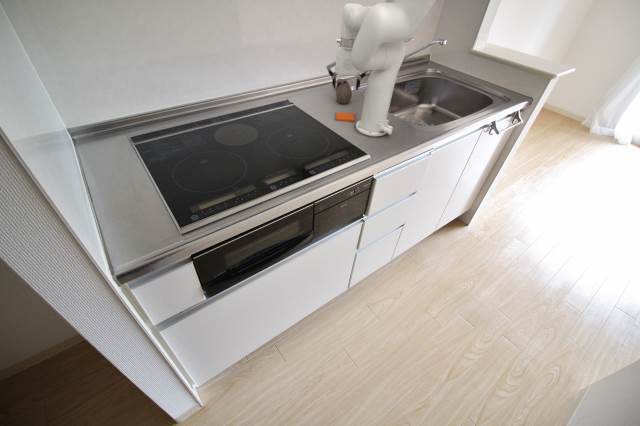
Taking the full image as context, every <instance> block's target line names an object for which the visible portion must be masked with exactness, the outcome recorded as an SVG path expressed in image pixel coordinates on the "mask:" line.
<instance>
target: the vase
mask: <svg viewBox="0 0 640 426" xmlns="http://www.w3.org/2000/svg"><path fill="white" fill-rule="evenodd" d="M352 94H353V91H352V88H351V86H350V84H349V82H348V80H347V81H343V82H342V84H341V85H340V86H339V87H338V89H337V88H336V91H335V98H336V101H337V102H338V103H339V104H341V105H347V104H348V103H349V102H350V101H351V99H352V96H353V95H352Z"/></svg>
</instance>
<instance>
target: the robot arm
mask: <svg viewBox="0 0 640 426" xmlns="http://www.w3.org/2000/svg"><path fill="white" fill-rule="evenodd" d="M436 1H437V0H381V2H378V3H376V4H374V5H365V6H364V5H362V4H360V3H355V2H354V3H353V2H349V3H345V4H344V6H343V9H342V19H341V30H340V31H341V32H340V37H339V38H336V43H337V44H339V45H338V47H337V51H336V58H335V61H333V62H331V63H329V64H327V65H326V70H327V73H328V74H329V76H330V77H331V79H332V80H331V81H332V82H331V83H332V84H331V86H332V87H333V89H334V90H335V89H336V86H337V76H347V77H349V76H351V77H357V78H356V82H355V90H356V91H358V90H359V88H360V87H361V81H362V80H363V78H365V77H366V75H367V74H368V73H369V71H371V72H370V73H369V76H368V78H367V81H366V86H365V92H364V97H363V104H362V110H361V116H360V119H359V120H358V121H356V123H355V130H357V132H359V134H360V133H361V134H362V135H365V136H368V137H382V136H385V135H387V134H388V135H392V133H393V131H394V127H393V126H392V125H389V122H390V120H389V119H387V118H388V114H389V109H390V106H391V102H392V98H393V93H394V89H395V85H396V81H397V77H398V75H399V71H400V68H401V66H402V64H403V62H404V59H405V56H406V48H407V47H406V44H405V42H407V41H409V40H410V39H411V38H413V36H414V35H415V34H416V32H417V31H418V30H419V28H420V26H421V24H422V23H423V21H424V20H425V19H426V18H427V15H428V14H429V12H430V11H431V9H432V7H433V6H434V4H435V3H436ZM332 68H334V72H333V70H332ZM361 72H362V73H361Z"/></svg>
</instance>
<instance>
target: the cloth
mask: <svg viewBox="0 0 640 426" xmlns="http://www.w3.org/2000/svg"><path fill="white" fill-rule="evenodd" d="M335 114H336V115H335V117H336V118H335V120H336V121H342V122H343V121H344V122H355V113H354V112H345V111H336V113H335Z"/></svg>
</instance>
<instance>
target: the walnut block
mask: <svg viewBox="0 0 640 426" xmlns="http://www.w3.org/2000/svg"><path fill="white" fill-rule="evenodd" d="M343 81H347V82H348V80H347V79H345V78H336V90H337V89H338V87H339V86H340V85H341V84H342V82H343Z"/></svg>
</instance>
